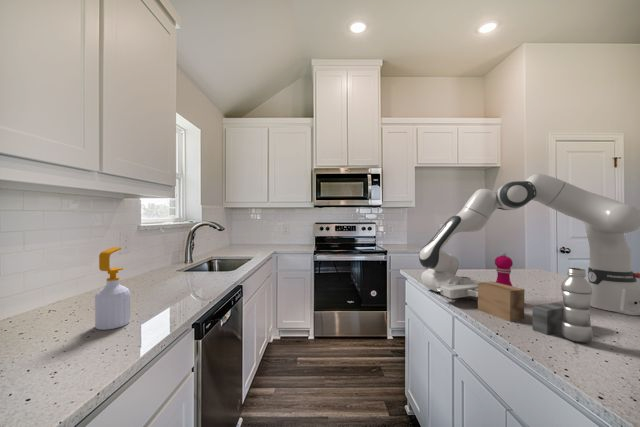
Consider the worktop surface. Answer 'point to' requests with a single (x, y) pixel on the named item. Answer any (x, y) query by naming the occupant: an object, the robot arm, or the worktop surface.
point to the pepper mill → (503, 269)
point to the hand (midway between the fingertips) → (482, 294)
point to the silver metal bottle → (576, 306)
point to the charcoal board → (548, 317)
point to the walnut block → (501, 300)
